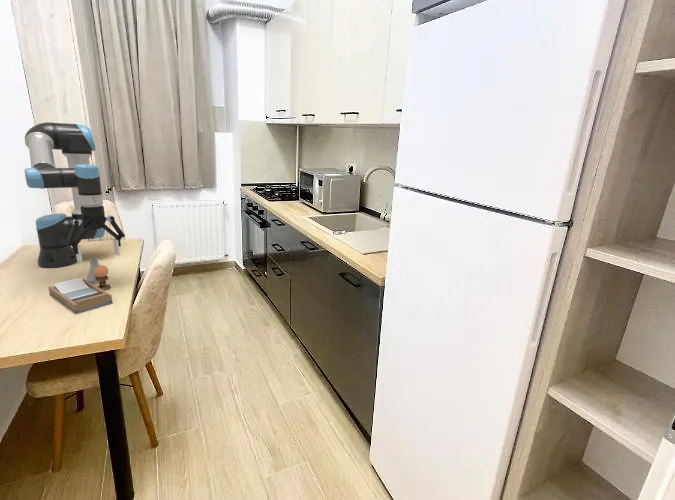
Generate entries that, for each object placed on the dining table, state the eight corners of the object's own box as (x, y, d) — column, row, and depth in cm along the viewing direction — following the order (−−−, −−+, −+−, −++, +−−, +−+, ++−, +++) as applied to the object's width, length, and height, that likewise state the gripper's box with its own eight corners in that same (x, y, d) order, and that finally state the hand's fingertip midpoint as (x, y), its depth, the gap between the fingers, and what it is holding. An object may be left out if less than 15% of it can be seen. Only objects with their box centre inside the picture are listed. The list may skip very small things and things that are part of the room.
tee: (93, 288, 147) (92, 276, 145) (107, 285, 151) (105, 273, 149) (99, 291, 144) (97, 279, 143) (112, 288, 148) (111, 276, 147)
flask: (110, 279, 157) (107, 257, 154) (95, 284, 151) (91, 262, 148) (98, 276, 159) (95, 255, 157) (82, 281, 153) (79, 259, 150)
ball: (92, 277, 145) (90, 265, 144) (105, 274, 149) (104, 262, 148) (97, 280, 143) (96, 268, 141) (111, 277, 147) (109, 265, 145)
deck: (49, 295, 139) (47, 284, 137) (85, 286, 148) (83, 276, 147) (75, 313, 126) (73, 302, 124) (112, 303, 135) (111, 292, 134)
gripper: (57, 210, 126) (66, 267, 132) (130, 203, 146) (135, 253, 151) (48, 207, 130) (58, 263, 136) (121, 201, 150) (127, 250, 156)
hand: (99, 258), depth 144 cm, fingers open, 13 cm apart
